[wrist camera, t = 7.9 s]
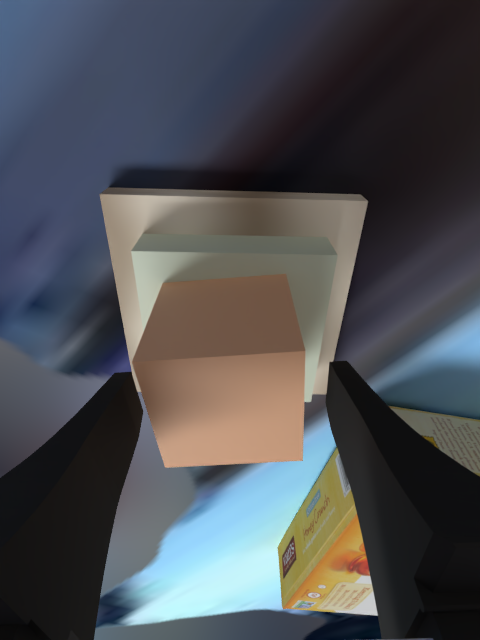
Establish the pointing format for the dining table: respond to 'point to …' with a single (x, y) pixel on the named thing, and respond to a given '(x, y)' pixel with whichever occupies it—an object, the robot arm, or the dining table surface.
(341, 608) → the cereal box
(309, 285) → the sage green slab
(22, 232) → the dining table surface
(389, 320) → the dining table surface
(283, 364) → the terracotta cube
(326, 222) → the ash base slab
